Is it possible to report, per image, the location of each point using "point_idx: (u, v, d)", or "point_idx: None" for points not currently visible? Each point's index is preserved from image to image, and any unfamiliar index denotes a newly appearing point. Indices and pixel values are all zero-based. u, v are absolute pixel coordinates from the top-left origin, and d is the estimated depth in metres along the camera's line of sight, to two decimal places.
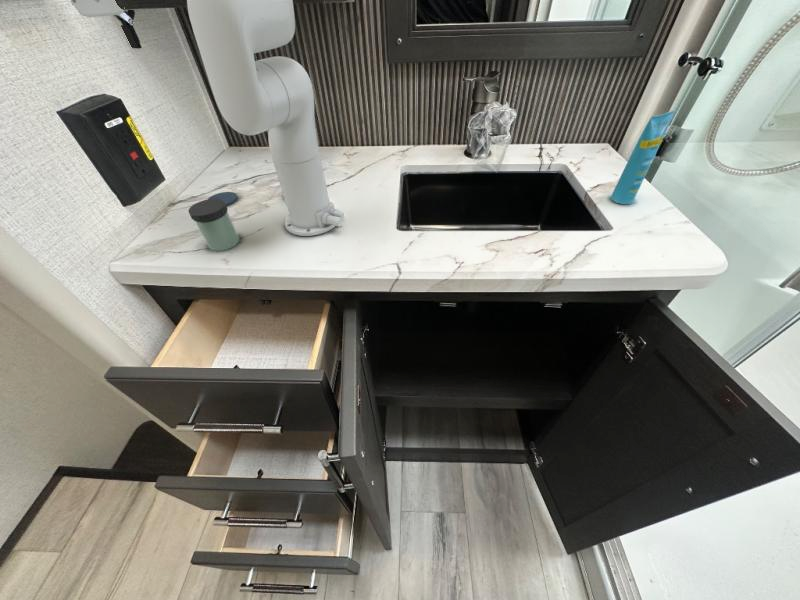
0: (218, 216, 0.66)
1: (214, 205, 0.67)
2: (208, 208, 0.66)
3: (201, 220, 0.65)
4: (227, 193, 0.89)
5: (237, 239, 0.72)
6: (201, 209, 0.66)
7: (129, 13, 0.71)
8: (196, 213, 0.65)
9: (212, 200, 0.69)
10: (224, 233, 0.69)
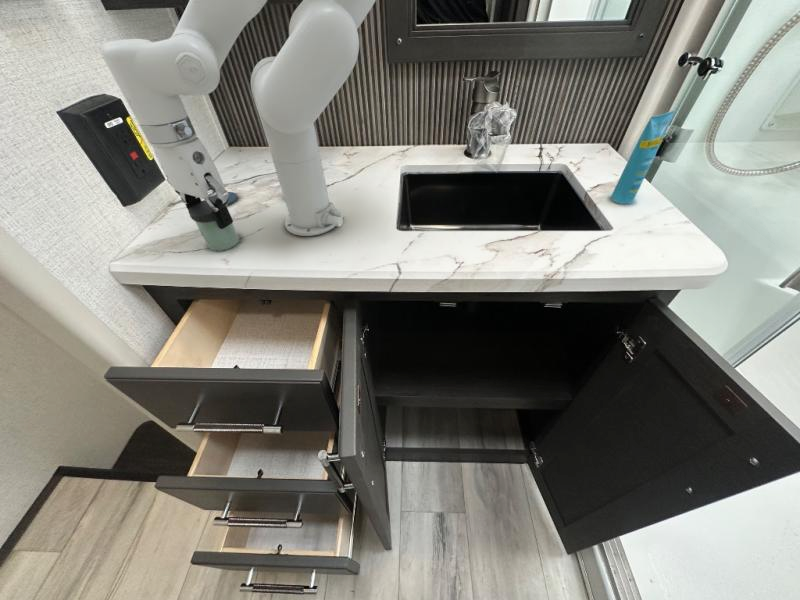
0: None
1: None
2: (208, 208, 0.66)
3: (201, 220, 0.65)
4: None
5: (237, 239, 0.72)
6: (201, 209, 0.66)
7: None
8: (196, 213, 0.65)
9: (212, 200, 0.69)
10: (224, 233, 0.69)
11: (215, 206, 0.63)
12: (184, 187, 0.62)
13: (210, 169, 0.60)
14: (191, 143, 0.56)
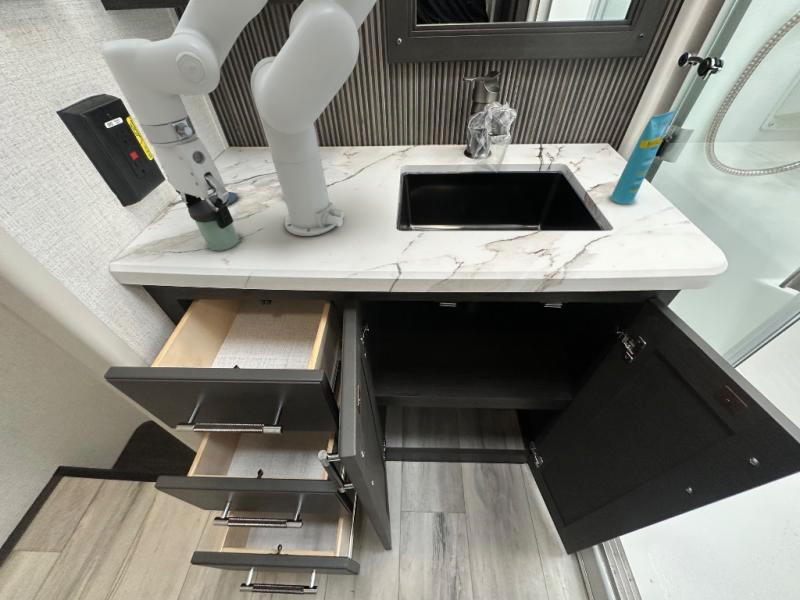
0: None
1: (203, 203, 0.67)
2: None
3: None
4: None
5: (237, 239, 0.72)
6: None
7: None
8: None
9: (192, 209, 0.66)
10: (224, 233, 0.69)
11: (215, 206, 0.63)
12: (184, 187, 0.62)
13: (210, 168, 0.60)
14: (191, 143, 0.56)
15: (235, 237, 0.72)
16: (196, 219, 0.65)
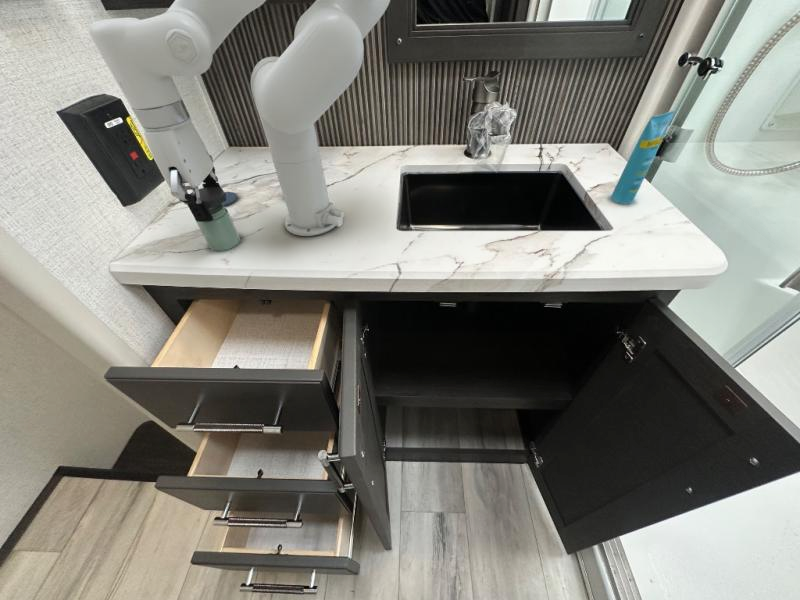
0: (214, 204, 0.64)
1: (212, 193, 0.65)
2: (205, 196, 0.65)
3: None
4: (227, 193, 0.89)
5: (238, 238, 0.73)
6: None
7: None
8: None
9: (212, 188, 0.67)
10: (227, 233, 0.69)
11: None
12: (203, 168, 0.62)
13: None
14: None
15: (237, 236, 0.72)
16: None
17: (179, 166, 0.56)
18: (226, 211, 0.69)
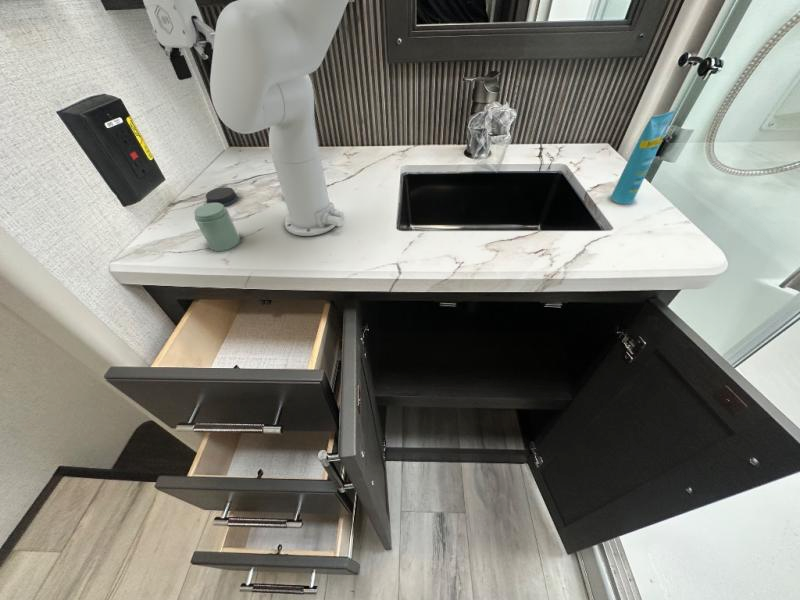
0: None
1: (223, 190, 0.87)
2: (223, 192, 0.86)
3: (228, 200, 0.85)
4: None
5: (238, 238, 0.73)
6: (219, 195, 0.85)
7: (206, 47, 0.64)
8: (221, 197, 0.84)
9: (214, 190, 0.87)
10: (227, 233, 0.69)
11: None
12: None
13: None
14: None
15: (237, 236, 0.72)
16: None
17: (199, 15, 0.63)
18: (226, 211, 0.69)
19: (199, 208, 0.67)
